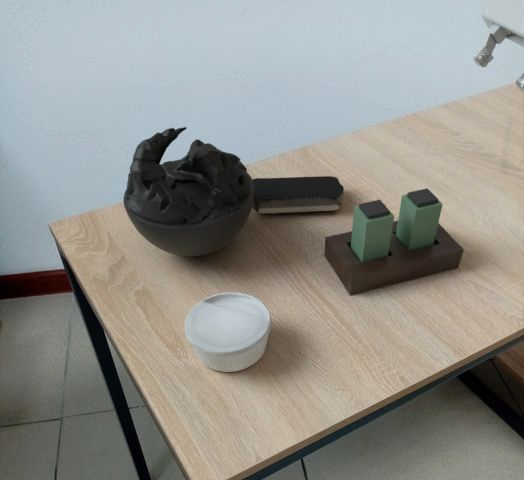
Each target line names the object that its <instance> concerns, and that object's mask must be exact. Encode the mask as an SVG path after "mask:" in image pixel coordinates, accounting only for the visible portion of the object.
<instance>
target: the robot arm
mask: <svg viewBox="0 0 524 480" xmlns="http://www.w3.org/2000/svg"><path fill="white" fill-rule="evenodd" d="M481 18H482V20H483V21H484V23H485V24H486V26H487V28H488V30H487V31H486V33H485V36H484V38H483V41H482V44H481V46H480V48H479V49H478V50H477V51H476V52H475V53H474V54H473V57H472V59H473V61H474V63H475V64H476V65H478V66H479V67H481V68H486V67H487V66H488V65H489V63H491V62H492V61H493V59H495V57H494V55H493V51H494V50H495V48H496V46H497V44H498V45H501V44H502V43H503V42H504V41H505V39H507V40H508V41H511V42H513V43H515V44H517V45H518V46H520V47H522V48H524V0H487V2H486V3H485V4H484V5H483V8H482V11H481ZM515 85H516V87H517V88H518V90H519V91H521V92H523V93H524V72H523V73H522V74H521V76H520V77H518V79H516V81H515Z"/></svg>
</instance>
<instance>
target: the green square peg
mask: <svg viewBox="0 0 524 480" xmlns="http://www.w3.org/2000/svg"><path fill="white" fill-rule="evenodd" d="M352 218H353V219H352V229H351V231H352V239H351V250H352V252H353V253H354V255H355V256H356V257H357V259H358V260H359V262H360V263H363V262H367V261H371V260H376V259H380V258H384V257H388V253H389V246H390V240H391V234H392V227H393V222H394V221H395V215H394V214H393V213H392V212H391V211H390V209H389V208H388V207H387V206H386V205H385V203H384V202H383V201H382V200H381V199H376V200H371V201H367V202H363V203H362V202H361V203H359V205H355V206H354V207H353V216H352Z"/></svg>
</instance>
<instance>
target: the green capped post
mask: <svg viewBox="0 0 524 480" xmlns="http://www.w3.org/2000/svg"><path fill="white" fill-rule="evenodd" d="M443 204H444V203H442V202H441V200H440V199H439V198H438V197H437V196H436V195H435V194H434V193H433V192H432V191H431V190H430V189H429V188H422V189H418V190H413V191H408V192H407V194H402V195H401V200H400V207H399V212H398V218H397V221H398V224H397V230H396V237H397V238H398V239H399V241H400V242H401V243H402V244H403V245H404V247H405V248H406V249H407V250H408V252H409V251H413V250H417V249H421V248H425V247H430V246H433V244H434V240H435V235H436V231H437V227H438V223H439V221H440V217H441V213H442V209H443Z"/></svg>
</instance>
